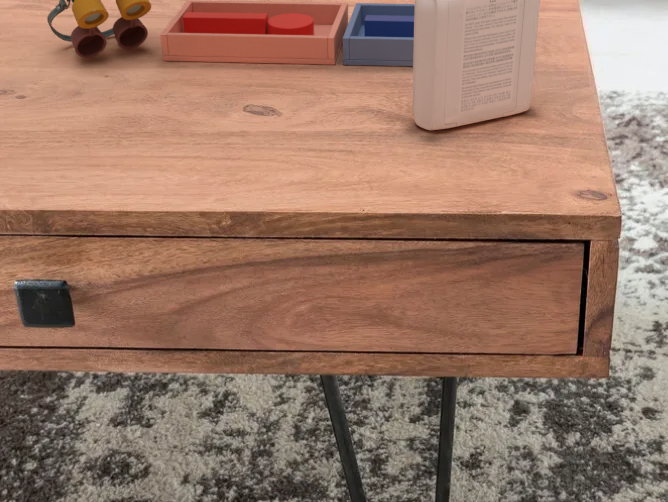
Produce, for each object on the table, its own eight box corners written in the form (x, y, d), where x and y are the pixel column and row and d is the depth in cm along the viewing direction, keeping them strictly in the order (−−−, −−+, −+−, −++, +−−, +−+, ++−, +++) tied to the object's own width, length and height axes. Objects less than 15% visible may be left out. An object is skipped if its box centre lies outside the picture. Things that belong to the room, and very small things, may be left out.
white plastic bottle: (510, 95, 90) (520, -56, 83) (538, 112, 87) (552, -43, 79) (404, 118, 86) (405, -37, 79) (429, 137, 83) (433, -23, 76)
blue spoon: (362, 48, 98) (362, 25, 97) (368, 32, 102) (367, 10, 101) (497, 51, 97) (498, 27, 96) (497, 35, 101) (499, 12, 99)
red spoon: (181, 45, 100) (178, 21, 99) (192, 29, 104) (189, 7, 103) (310, 47, 99) (309, 24, 98) (317, 31, 102) (316, 9, 101)
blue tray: (343, 64, 97) (342, 38, 95) (356, 28, 105) (355, 2, 103) (521, 69, 95) (523, 41, 93) (520, 31, 103) (522, 5, 101)
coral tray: (163, 60, 98) (159, 34, 97) (190, 25, 107) (187, 0, 105) (334, 64, 97) (333, 37, 95) (348, 28, 105) (347, 2, 103)
